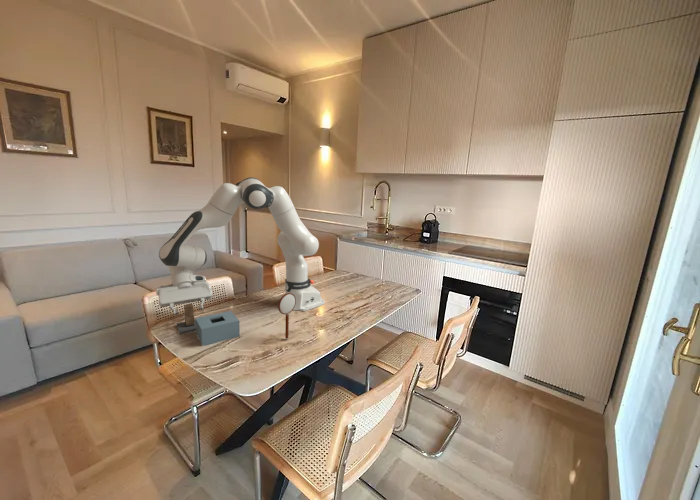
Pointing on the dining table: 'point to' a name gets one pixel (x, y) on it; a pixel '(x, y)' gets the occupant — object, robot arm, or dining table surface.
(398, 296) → the dining table surface
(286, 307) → the magnifying glass
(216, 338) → the box
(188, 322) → the upright wooden post
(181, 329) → the pad
